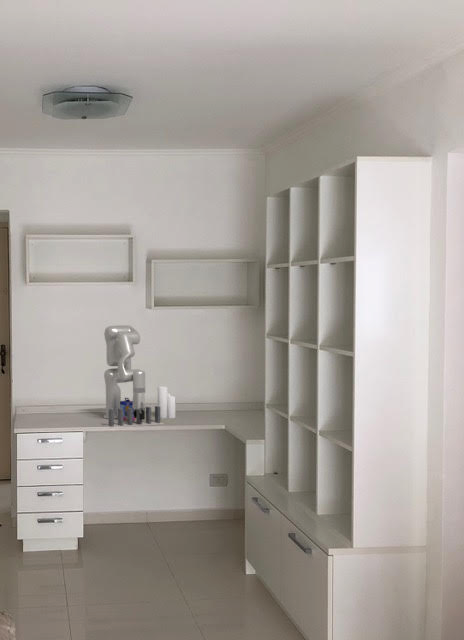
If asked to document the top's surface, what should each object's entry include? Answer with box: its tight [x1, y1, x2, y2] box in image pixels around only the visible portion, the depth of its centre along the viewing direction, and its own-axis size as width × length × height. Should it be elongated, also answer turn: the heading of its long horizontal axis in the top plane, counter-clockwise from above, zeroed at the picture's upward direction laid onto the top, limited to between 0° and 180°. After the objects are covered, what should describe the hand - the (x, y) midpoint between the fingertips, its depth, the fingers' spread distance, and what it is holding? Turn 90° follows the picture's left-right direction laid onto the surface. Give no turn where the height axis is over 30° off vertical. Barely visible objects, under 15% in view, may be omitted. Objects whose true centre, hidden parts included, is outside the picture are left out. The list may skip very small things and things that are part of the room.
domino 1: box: [108, 409, 115, 428], centre depth 571 cm, size 2×5×10 cm, turn 26°
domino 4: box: [136, 410, 143, 426], centre depth 579 cm, size 2×5×10 cm, turn 26°
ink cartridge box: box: [120, 397, 137, 422], centre depth 597 cm, size 10×6×14 cm, turn 51°
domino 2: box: [117, 408, 124, 426], centre depth 574 cm, size 2×5×10 cm, turn 26°
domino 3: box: [126, 408, 134, 425], centre depth 577 cm, size 2×5×10 cm, turn 26°
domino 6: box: [154, 405, 161, 423], centre depth 584 cm, size 2×5×10 cm, turn 26°
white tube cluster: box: [157, 385, 176, 419], centre depth 608 cm, size 11×7×20 cm, turn 96°
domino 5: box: [145, 406, 152, 424], centre depth 582 cm, size 2×5×10 cm, turn 26°
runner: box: [104, 420, 165, 428], centre depth 578 cm, size 12×35×1 cm, turn 116°
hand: (139, 418), depth 579 cm, fingers open, 9 cm apart
